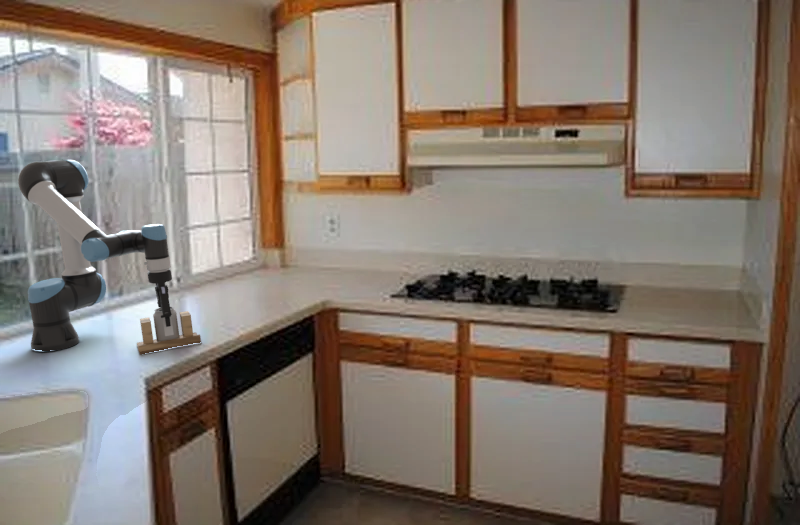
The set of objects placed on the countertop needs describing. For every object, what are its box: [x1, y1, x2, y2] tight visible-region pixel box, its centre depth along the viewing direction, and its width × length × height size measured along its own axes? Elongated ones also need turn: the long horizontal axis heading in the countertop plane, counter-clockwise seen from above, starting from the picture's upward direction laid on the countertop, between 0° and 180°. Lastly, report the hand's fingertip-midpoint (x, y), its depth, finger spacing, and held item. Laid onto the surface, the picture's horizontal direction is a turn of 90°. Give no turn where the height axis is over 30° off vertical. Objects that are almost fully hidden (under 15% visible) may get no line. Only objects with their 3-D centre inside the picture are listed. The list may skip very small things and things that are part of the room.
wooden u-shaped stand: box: [136, 310, 202, 356], centre depth 222 cm, size 12×20×10 cm, turn 115°
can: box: [152, 306, 180, 342], centre depth 222 cm, size 8×8×12 cm
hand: (167, 330), depth 222 cm, fingers open, 13 cm apart
